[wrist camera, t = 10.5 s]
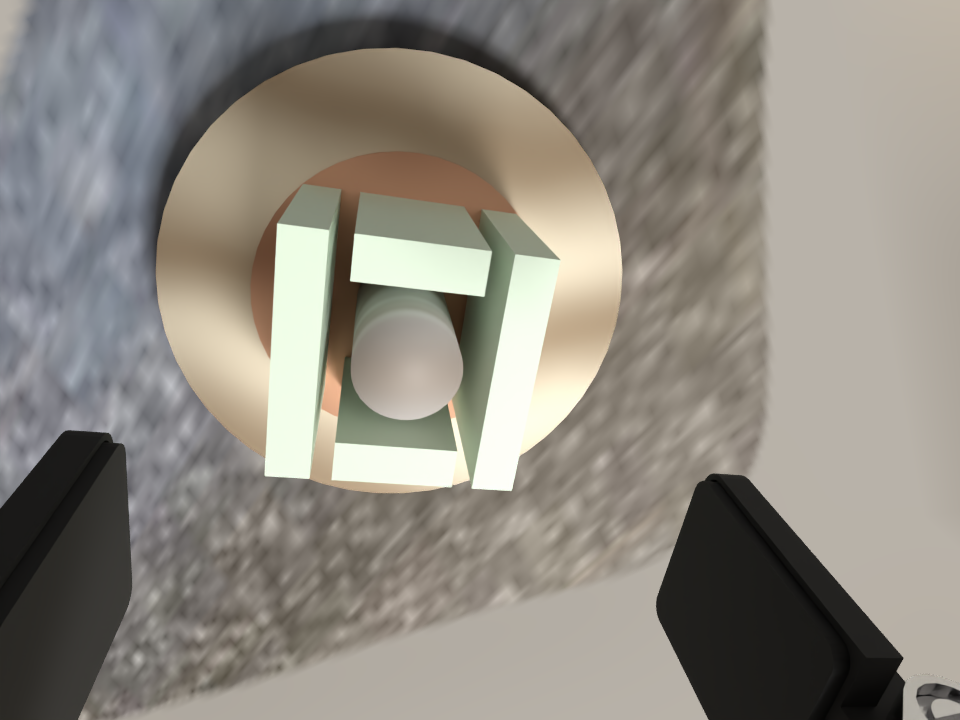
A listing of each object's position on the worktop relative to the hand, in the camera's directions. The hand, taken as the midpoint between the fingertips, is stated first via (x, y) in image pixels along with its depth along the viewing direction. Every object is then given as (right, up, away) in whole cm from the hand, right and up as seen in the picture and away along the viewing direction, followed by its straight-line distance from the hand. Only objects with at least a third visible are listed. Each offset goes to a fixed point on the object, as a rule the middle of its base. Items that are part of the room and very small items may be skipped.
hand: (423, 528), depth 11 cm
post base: (-2, +5, +14) cm, 15 cm away
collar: (-2, +5, +12) cm, 13 cm away
